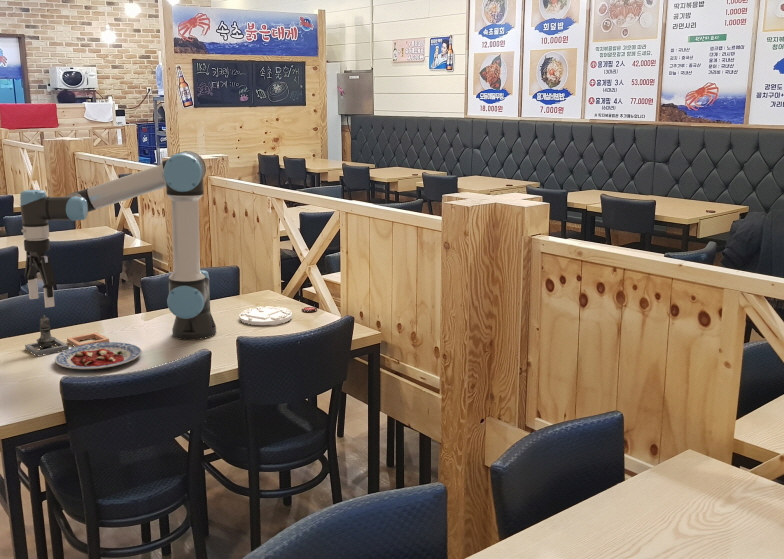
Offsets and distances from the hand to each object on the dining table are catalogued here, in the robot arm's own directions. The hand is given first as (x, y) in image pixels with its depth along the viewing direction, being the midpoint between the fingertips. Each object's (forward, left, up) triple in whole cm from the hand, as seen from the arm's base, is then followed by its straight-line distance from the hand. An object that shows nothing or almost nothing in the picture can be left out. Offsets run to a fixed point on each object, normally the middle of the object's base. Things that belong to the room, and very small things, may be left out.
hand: (41, 302), depth 249 cm
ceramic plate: (-22, -8, -17) cm, 29 cm away
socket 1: (0, 0, -16) cm, 16 cm away
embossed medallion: (-18, -75, -17) cm, 79 cm away
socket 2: (-2, -13, -16) cm, 21 cm away
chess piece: (0, 0, -16) cm, 16 cm away
